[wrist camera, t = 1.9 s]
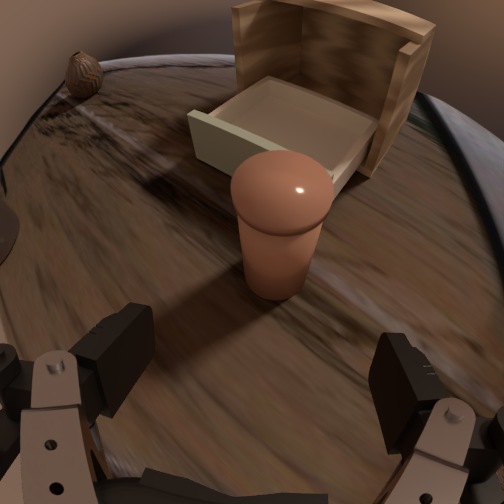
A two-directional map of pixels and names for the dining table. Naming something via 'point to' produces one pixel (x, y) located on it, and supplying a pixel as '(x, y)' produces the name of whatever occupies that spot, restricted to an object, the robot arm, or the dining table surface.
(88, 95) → the vase
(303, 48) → the housing
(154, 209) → the dining table surface
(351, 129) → the tray
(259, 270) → the canister
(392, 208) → the dining table surface
